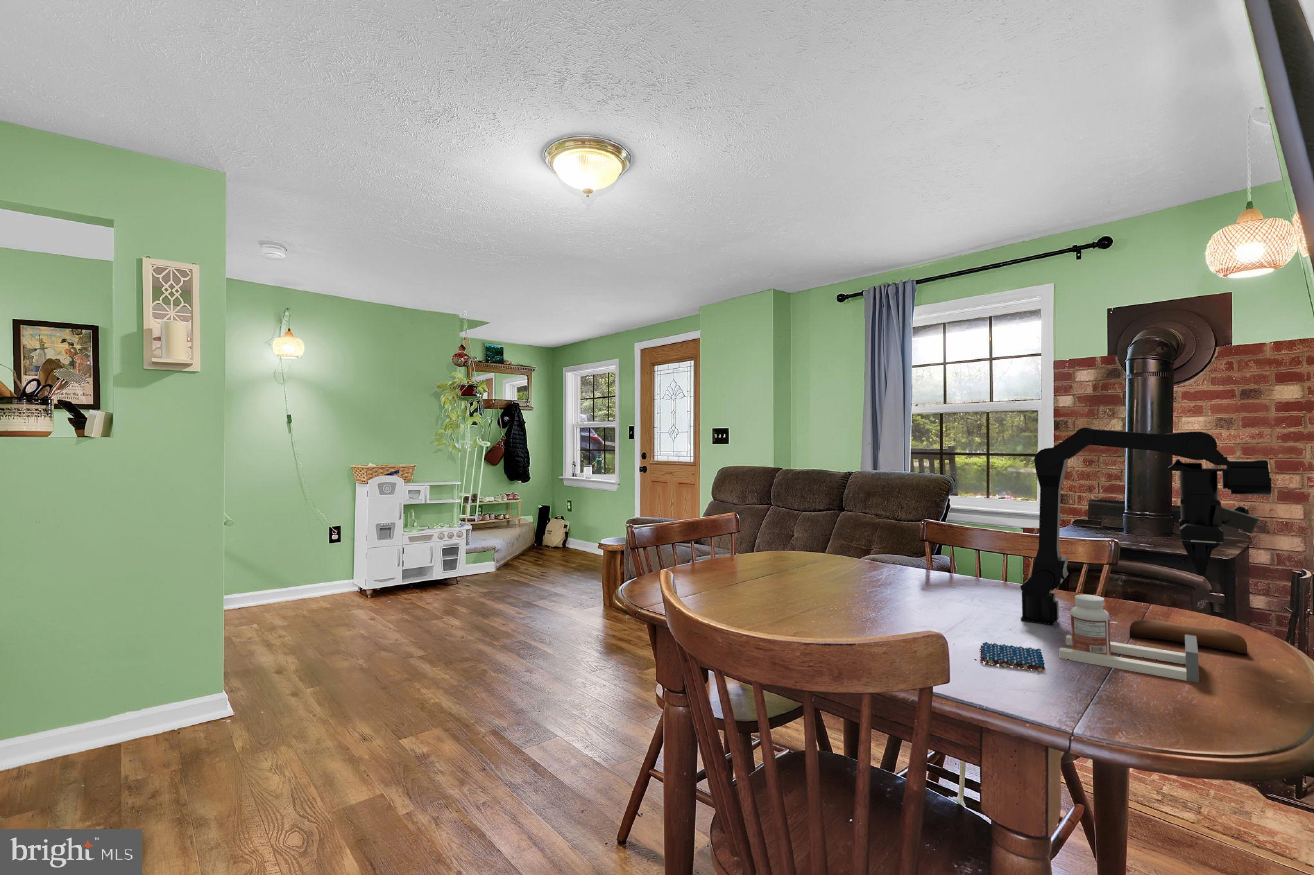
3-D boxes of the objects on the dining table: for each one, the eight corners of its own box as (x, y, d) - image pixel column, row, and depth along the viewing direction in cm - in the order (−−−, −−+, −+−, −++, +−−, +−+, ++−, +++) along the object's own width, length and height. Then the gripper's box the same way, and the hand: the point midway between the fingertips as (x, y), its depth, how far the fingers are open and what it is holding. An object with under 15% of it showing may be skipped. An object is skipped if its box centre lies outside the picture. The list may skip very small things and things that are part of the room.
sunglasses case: (1248, 645, 121) (1247, 620, 119) (1248, 672, 117) (1248, 646, 115) (1134, 627, 134) (1131, 604, 132) (1130, 651, 130) (1127, 628, 127)
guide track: (1059, 658, 117) (1058, 631, 117) (1067, 642, 126) (1066, 617, 126) (1199, 682, 104) (1198, 653, 104) (1197, 663, 113) (1196, 636, 113)
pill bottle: (1083, 647, 122) (1082, 591, 123) (1117, 656, 117) (1116, 598, 117) (1064, 652, 120) (1063, 595, 120) (1098, 662, 114) (1097, 603, 114)
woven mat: (979, 650, 124) (979, 640, 124) (1041, 658, 119) (1041, 647, 119) (979, 667, 114) (979, 656, 115) (1046, 676, 109) (1046, 665, 109)
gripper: (1260, 499, 111) (1262, 585, 111) (1250, 491, 125) (1252, 568, 125) (1179, 496, 118) (1181, 577, 118) (1178, 489, 132) (1180, 562, 132)
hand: (1201, 571), depth 123 cm, fingers open, 9 cm apart
